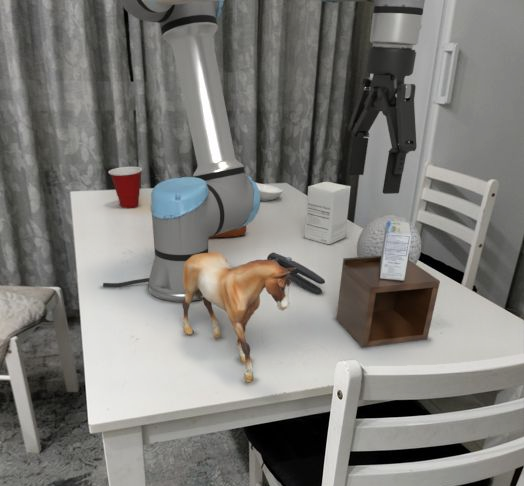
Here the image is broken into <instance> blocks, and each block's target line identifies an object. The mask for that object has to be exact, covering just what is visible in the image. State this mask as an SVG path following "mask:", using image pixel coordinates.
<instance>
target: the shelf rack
mask: <svg viewBox="0 0 524 486" xmlns="http://www.w3.org/2000/svg"><path fill="white" fill-rule="evenodd" d="M380 262H381V256H368V257H358V256H355V257H343V258H342V269H341V276H340V284H339V293H338V302H337V309H336V310H337V311H336V317H335V318H336V321H337V322H338V323H339V324H340V325H341V326H342V327H343V329H344V330H345V331H346V332H347V333H348V334H349V335H350V336H351V337H352V339H353V340H354V341H355V342H356V343H357V344H358V345H359V346H360V347H361V348H369V347H378V346H384V345H393V344H401V343H410V342H417V341H418V342H419V341H426V340H428V338H429V333H430V328H431V324H432V320H433V315H434V310H435V306H436V302H437V298H438V293H439V288H440V284H441V280H439V279H438V278H436V277H435V276H433V275H432V274H431V273H429V272H428V271H426V270H425V269H423V268H422V267H420V266H419V265H417V263H416V264H414V263H413V262H411V261H410V260H409V255H408V261H407V267H406V273H405V279H404V280H403V281H399V280H388V279H381V278H380Z"/></svg>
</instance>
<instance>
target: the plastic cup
mask: <svg viewBox="0 0 524 486" xmlns="http://www.w3.org/2000/svg"><path fill="white" fill-rule="evenodd" d="M142 171H143V168H142V167H140V166H122V167H116V168H112V169H110V170H108V174H109V175H110V177H111V179H112V182H113V185H114V189H115V193H116V196H117V197H118V202H119V205H120V207H121V208H124V209H132V208H133V209H134V208H138V206H139V203H140V202H139V201H140V200H139V199H140V192H141V191H140V189H141V188H140V187H141V179H142V177H141V176H142Z"/></svg>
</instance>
